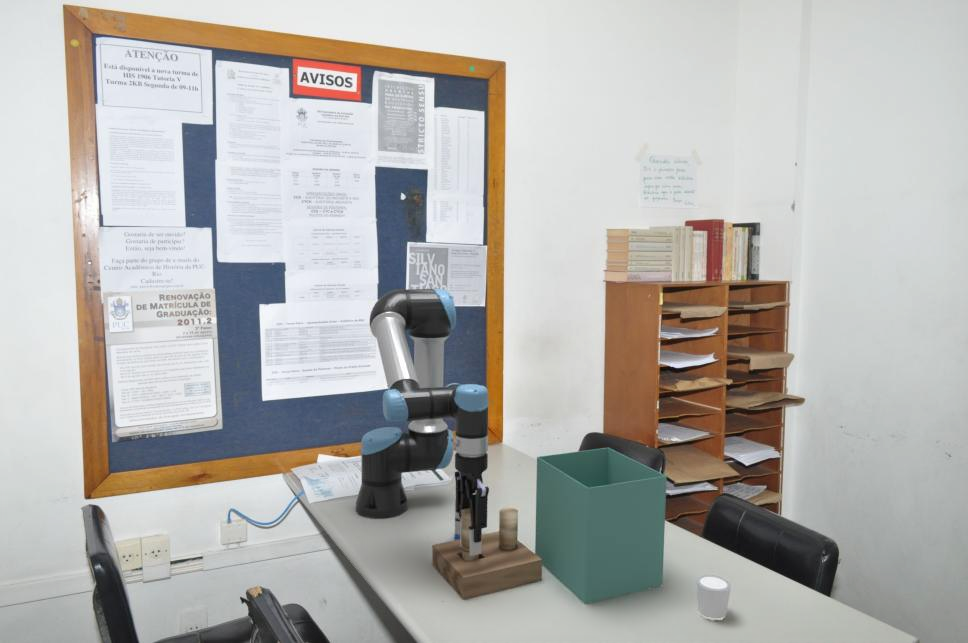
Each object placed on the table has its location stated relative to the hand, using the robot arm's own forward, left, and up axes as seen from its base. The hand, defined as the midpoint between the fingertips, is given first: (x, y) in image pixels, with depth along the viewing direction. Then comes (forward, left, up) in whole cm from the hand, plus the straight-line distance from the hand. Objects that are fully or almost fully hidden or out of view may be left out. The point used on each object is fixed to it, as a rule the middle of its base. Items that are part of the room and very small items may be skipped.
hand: (470, 549), depth 156 cm
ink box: (-19, +8, -7) cm, 22 cm away
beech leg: (0, 0, -5) cm, 5 cm away
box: (+11, +28, -7) cm, 31 cm away
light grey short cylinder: (+37, +39, -7) cm, 54 cm away
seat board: (0, +4, -6) cm, 8 cm away
